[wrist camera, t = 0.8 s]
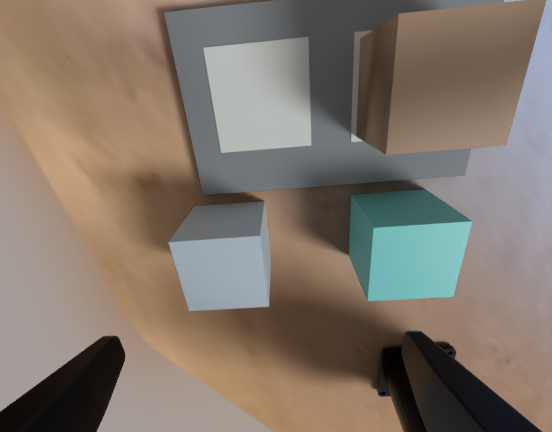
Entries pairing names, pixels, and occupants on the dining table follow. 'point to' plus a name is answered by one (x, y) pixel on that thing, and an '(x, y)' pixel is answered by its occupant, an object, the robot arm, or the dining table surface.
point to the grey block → (224, 256)
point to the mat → (288, 94)
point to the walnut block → (445, 77)
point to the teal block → (406, 244)
